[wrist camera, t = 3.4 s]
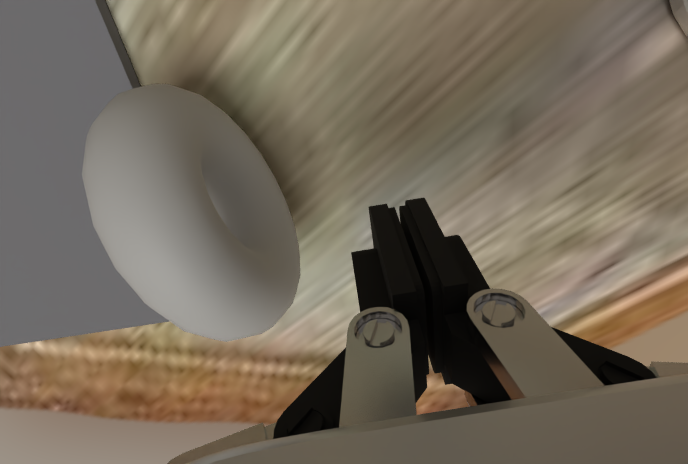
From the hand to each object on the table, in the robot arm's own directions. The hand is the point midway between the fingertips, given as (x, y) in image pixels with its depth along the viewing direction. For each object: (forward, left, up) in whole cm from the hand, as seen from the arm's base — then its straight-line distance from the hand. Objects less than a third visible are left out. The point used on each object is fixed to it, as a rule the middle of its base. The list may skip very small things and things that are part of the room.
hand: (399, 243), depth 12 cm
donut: (+7, 0, -9) cm, 11 cm away
